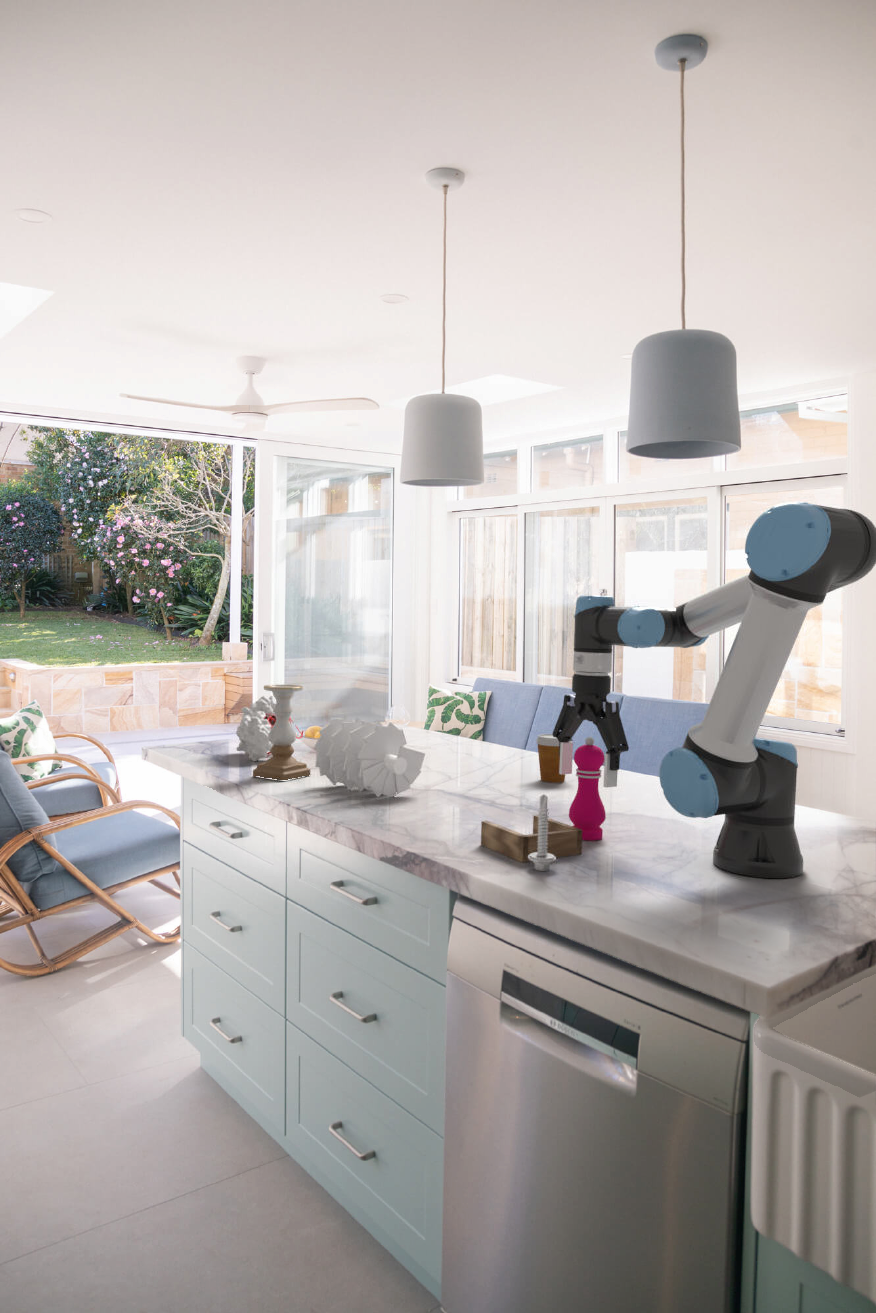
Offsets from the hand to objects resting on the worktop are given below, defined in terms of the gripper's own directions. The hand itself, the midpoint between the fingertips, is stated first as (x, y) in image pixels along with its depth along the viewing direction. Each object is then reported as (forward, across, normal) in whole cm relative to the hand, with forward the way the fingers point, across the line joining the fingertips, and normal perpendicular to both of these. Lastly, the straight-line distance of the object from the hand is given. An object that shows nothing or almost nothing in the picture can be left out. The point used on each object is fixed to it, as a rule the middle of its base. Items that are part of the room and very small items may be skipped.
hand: (587, 780), depth 176 cm
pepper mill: (+12, 0, 0) cm, 12 cm away
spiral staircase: (+12, -58, -20) cm, 63 cm away
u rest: (+11, +4, -16) cm, 20 cm away
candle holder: (+13, -84, -32) cm, 91 cm away
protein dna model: (+13, -116, -25) cm, 120 cm away
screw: (+11, +15, -22) cm, 29 cm away
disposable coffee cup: (+12, -52, +32) cm, 62 cm away
